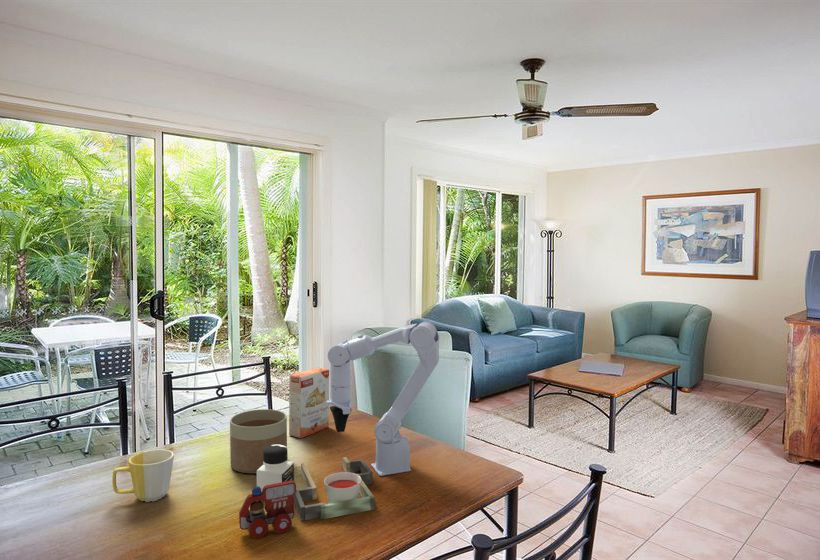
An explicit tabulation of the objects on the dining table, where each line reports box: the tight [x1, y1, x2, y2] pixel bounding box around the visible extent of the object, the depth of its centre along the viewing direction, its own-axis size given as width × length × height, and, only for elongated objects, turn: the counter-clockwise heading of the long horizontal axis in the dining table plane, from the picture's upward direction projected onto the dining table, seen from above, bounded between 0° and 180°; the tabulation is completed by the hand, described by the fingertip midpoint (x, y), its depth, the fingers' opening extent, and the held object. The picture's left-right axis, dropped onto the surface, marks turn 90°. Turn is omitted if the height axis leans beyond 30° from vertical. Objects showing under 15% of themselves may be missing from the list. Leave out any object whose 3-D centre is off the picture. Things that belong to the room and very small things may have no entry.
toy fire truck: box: [238, 480, 297, 539], centre depth 118 cm, size 7×12×10 cm, turn 112°
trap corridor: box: [294, 456, 375, 521], centre depth 137 cm, size 22×26×3 cm
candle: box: [323, 471, 361, 504], centre depth 129 cm, size 9×9×6 cm
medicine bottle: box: [256, 444, 295, 492], centre depth 135 cm, size 7×7×12 cm
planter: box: [229, 408, 288, 474], centre depth 153 cm, size 16×16×14 cm
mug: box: [111, 448, 175, 503], centre depth 132 cm, size 14×10×10 cm
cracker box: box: [288, 367, 330, 439], centre depth 179 cm, size 14×6×21 cm, turn 147°
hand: (340, 431), depth 153 cm, fingers closed
